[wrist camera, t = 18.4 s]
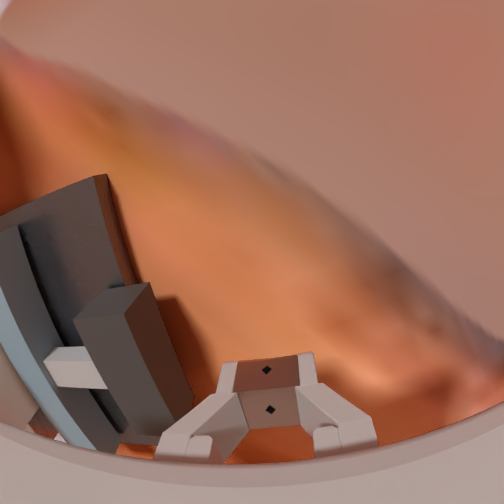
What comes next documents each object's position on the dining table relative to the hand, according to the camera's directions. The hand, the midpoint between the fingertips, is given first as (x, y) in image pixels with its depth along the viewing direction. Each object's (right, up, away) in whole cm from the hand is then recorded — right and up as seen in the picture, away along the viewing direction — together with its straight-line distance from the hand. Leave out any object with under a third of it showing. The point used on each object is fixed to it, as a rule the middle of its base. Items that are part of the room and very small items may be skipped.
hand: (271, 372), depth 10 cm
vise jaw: (-11, -2, +7) cm, 13 cm away
